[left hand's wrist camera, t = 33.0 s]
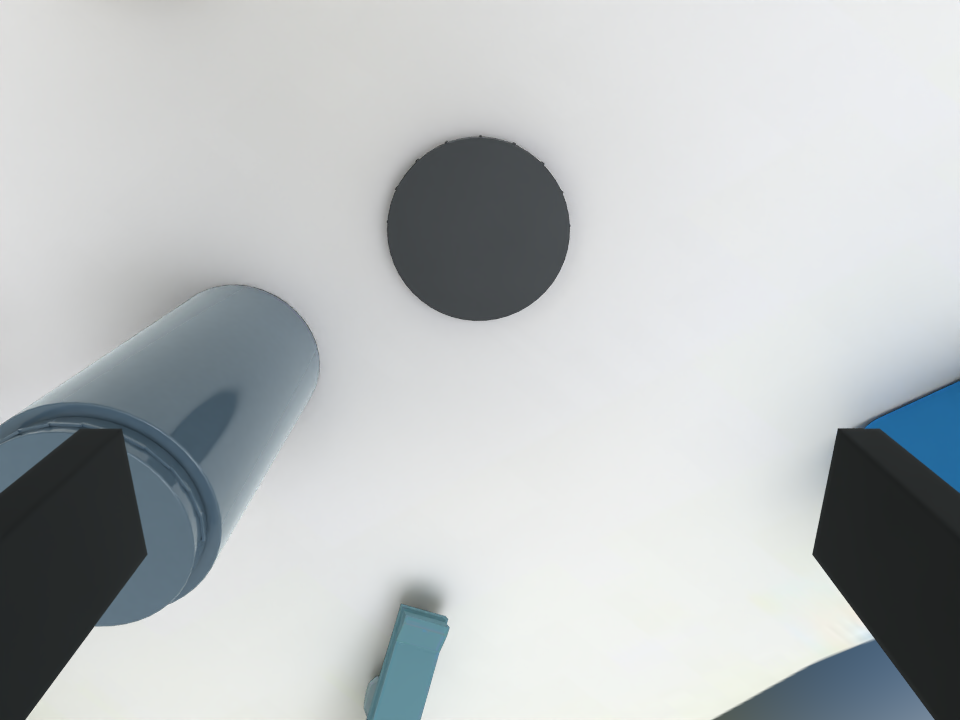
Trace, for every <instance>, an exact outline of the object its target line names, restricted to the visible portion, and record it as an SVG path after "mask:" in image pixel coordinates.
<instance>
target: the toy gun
mask: <svg viewBox="0 0 960 720" xmlns="http://www.w3.org/2000/svg"><path fill="white" fill-rule="evenodd" d="M447 621H448V618H447V617H446V616H443V615H439V614H436V613H432V612H429V611H425V610H422V609H418V608H414V607H411V606H407V605H404V604H401V606H400V609H399V612H398V616H397V619H396V622H395V626H394V629H393V632H392V636H391V639H390V643H389V646H388V649H387V653H386V656H385V659H384V663H383V666H382V669H381V673H380V676H379V677H378V676H376V677H375V678H374V679H373V680H371V681H370V683H369V684H368V687H367V690H366V695H365V701H364V710H365V713H366V716H367V719H366V720H421V716H422V712H423V709H424V705H425V702H426V698H427V695H428V691H429V687H430V684H431V680H432V677H433V673H434V670H435V666H436V662H437V659H438V655H439V652H440V650H441V648H442V646H443V643H444V641H445V639H446V637H447V634H448V631H449V626H448V625H447Z"/></svg>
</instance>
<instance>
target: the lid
mask: <svg viewBox="0 0 960 720" xmlns="http://www.w3.org/2000/svg"><path fill="white" fill-rule="evenodd" d="M395 190H396V192H395V193H394V196H393V199H392V202H391V205H390V210H389V215H388V220H387V223H388V225H387V233H388V243H389V249H390V253H391V256H392V259H393V262H394V265H395V267H396V269H397V271H398V273H399V275H400V276H401V278H402V280H403V281H404V283H405V284H406V285H407V287H408V288H409V289H410V290H411V291H412V292H413V293H414V294H415V295H416V296H417V297H418V298H419V299H420V300H421V301H423V302H424V303H425V304H427V305H428V306H430V307H431V308H433V309H435V310H437V311H439V312H441V313H443V314H446V315H448V316H451V317H455V318H459V319H463V320H472V321H486V320H493V319H499V318H502V317H506V316H509V315H512V314H514V313H516V312H519V311H520V310H522V309H524V308H526V307H528V306H529V305H530V304H532V303H533V302H534V301H536V300H537V299H538V298H539V297H540V296H541V295H542V294H543V293H544V292H546V290H547V289H548V288H549V287H550V285H551V284H552V283H553V282H554V280H555V278H556V277H557V275H558V273H559V272H560V269H561V267H562V265H563V263H564V260H565V257H566V253H567V250H568V244H569V234H570V224H569V214H568V210H567V205H566V202H565V199H564V196H563V191H562V190H561V189H560V188H559V186H558V184H557V182H556V180H555V179H554V177H553V176H552V175H551V173H550V172H549V171H548V170H547V168H546V167H545V166H544V163H543V162H540V161H539V160H538V159H536V158H535V157H534V156H533V155H531V154H530V153H529V152H527V151H526V150H524V149H522V148H521V147H519V146H517V145H516V144H515V143H514V142H513V144H512V143H510V142H507V141H504V140H500V139H496V138H489V137H481V135H480V137H468V138H461V139H457V140H453V141H450V142H448V141H446V142H445V144H443V145H440V146H438V147H436V148H435V149H433V150H432V151H430V152H428V153H427V154H426V155H424V156H423V157H422V158H421V159H420V160H419V159H417V160H416V163H415V164H414V165H413V166H412V167H411V169H410V170H409V171H408V172H407V173H406V175H405V176H404V177H403V179H402V180H401V182H400V184H399V186H397V187H396V189H395Z"/></svg>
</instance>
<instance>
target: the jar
mask: <svg viewBox="0 0 960 720" xmlns="http://www.w3.org/2000/svg"><path fill="white" fill-rule="evenodd" d="M318 375H319V355H318V350H317V346H316V342H315V340H314V338H313V335H312V333H311V331H310V329H309V328H308V326H307V324H306V323H305V322H304V320H303V319H302V318H301V316H300V315H299V314H298V313H297V312H296V311H295V310H294V309H293V308H292V307H290V306H289V305H288V304H287V303H286V302H284V301H282V300H281V299H279V298H278V297H276V296H274V295H272V294H270V293H268V292H266V291H263V290H260V289H257V288H253V287H249V286H241V285H224V286H218V287H214V288H210V289H207V290H205V291H203V292H200V293H198V294H196V295H195V296H193V297H192V298H190V299H189V300H187V301H186V302H184V303H183V304H181V305H180V306H178V307H177V308H175V309H174V310H172V311H171V312H169V313H168V314H166V315H165V316H163V317H162V318H160V319H159V320H157V321H156V322H154V323H153V324H151V325H150V326H148V327H147V328H145V329H144V330H142V331H141V332H139V333H138V334H136V335H135V336H133V337H132V338H130V339H129V340H127V341H126V342H124V343H123V344H121V345H120V346H118V347H117V348H115V349H114V350H112V351H111V352H109V353H108V354H106V355H105V356H103V357H102V358H100V359H99V360H97V361H96V362H94V363H93V364H91V365H90V366H88V367H87V368H85V369H84V370H82V371H81V372H79V373H78V374H76V375H75V376H73V377H72V378H70V379H69V380H67V381H66V382H64V383H63V384H61V385H60V386H58V387H57V388H55V389H54V390H52V391H51V392H49V393H48V394H46V395H45V396H43V397H42V398H40V399H39V400H37V401H36V402H34V403H33V404H31V405H30V406H28V407H27V408H25V409H24V410H22V411H21V412H19V413H18V414H16V415H15V416H13V417H12V418H10V419H9V420H7V421H6V422H4V423H3V424H1V425H0V493H1V492H2V491H3V490H5V489H6V488H7V487H8V486H10V485H11V484H12V483H13V482H15V481H16V480H17V479H18V478H20V477H21V476H22V475H23V474H25V473H26V472H27V471H28V470H29V469H31V468H32V467H33V466H34V465H36V464H37V463H38V462H39V461H41V460H42V459H43V458H44V457H46V456H47V455H48V454H49V453H51V452H52V451H53V450H54V449H55V448H57V447H58V446H59V445H60V444H62V443H63V442H64V441H65V440H67V439H68V438H69V437H70V436H72V435H73V434H74V433H75V432H77V431H78V430H79V429H122V431H123V436H124V441H125V446H126V451H127V456H128V460H129V465H130V470H131V475H132V480H133V485H134V490H135V495H136V500H137V505H138V510H139V515H140V520H141V524H142V529H143V534H144V539H145V544H146V549H147V554H148V555H147V556H146V557H145V559H144V560H143V561H142V563H141V564H140V565H139V567H138V568H137V569H136V571H135V572H134V574H133V575H132V576H131V578H130V579H129V580H128V582H127V583H126V584H125V586H124V587H123V588H122V590H121V591H120V592H119V594H118V595H117V596H116V598H115V599H114V601H113V602H112V603H111V605H110V606H109V607H108V609H107V610H106V611H105V613H104V614H103V615H102V617H101V618H100V619H99V621H98V622H97V623H96V625H95V626H116V625H123V624H128V623H132V622H135V621H139V620H141V619H144V618H146V617H149V616H151V615H153V614H154V613H156V612H158V611H160V610H161V609H163V608H164V607H165V606H167V605H168V604H171V603H173V602H175V601H176V600H178V599H180V598H182V597H184V596H185V595H187V594H188V593H189V592H190V591H192V590H193V589H194V588H196V587H197V585H198V584H199V583H200V582H201V581H202V580H203V579H204V578H205V577H206V575H207V574H208V572H209V571H210V569H211V568H212V566H213V565H214V563H215V561H216V559H217V558H218V556H219V554H220V553H221V551H222V549H223V547H224V546H225V544H226V542H227V540H228V539H229V537H230V535H231V534H232V532H233V530H234V528H235V527H236V525H237V523H238V522H239V520H240V518H241V516H242V515H243V513H244V511H245V509H246V508H247V506H248V504H249V503H250V501H251V499H252V497H253V496H254V494H255V492H256V491H257V489H258V487H259V485H260V484H261V482H262V480H263V479H264V477H265V475H266V473H267V472H268V470H269V468H270V466H271V465H272V463H273V461H274V460H275V458H276V456H277V454H278V453H279V451H280V449H281V448H282V446H283V444H284V442H285V441H286V439H287V437H288V435H289V434H290V432H291V430H292V429H293V427H294V425H295V423H296V422H297V420H298V418H299V417H300V415H301V413H302V411H303V410H304V408H305V406H306V404H307V403H308V401H309V399H310V398H311V396H312V394H313V392H314V390H315V387H316V384H317V381H318Z"/></svg>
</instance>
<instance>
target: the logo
mask: <svg viewBox="0 0 960 720" xmlns="http://www.w3.org/2000/svg"><path fill="white" fill-rule="evenodd" d="M864 429H881V430H882V431H883V432H885V433H886V434H887V435H888V436H890V437H891V438H892V439H893V440H895V441H896V442H897V443H898V444H900V445H901V446H902V447H903V448H905V449H906V450H907V451H908V452H909V453H911V454H912V455H913V456H914V457H916V458H917V459H918V460H919V461H921V462H922V463H923V464H924V465H926V466H927V467H928V468H929V469H931V470H932V471H933V472H934V473H935V474H937V475H938V476H939V477H940V478H942V479H943V480H944V481H945V482H947V483H948V484H949V485H950V486H952V487H953V488H954V489H955V490H957V491H958V492H959V493H960V381H958V382H956V383H954V384H952V385H950V386H947V387H945V388H943V389H941V390H939V391H936V392H934V393H932V394H930V395H928V396H926V397H923V398H921V399H919V400H917V401H915V402H912V403H910V404H908V405H906V406H904V407H902V408H899V409H897V410H895V411H893V412H891V413H888V414H886V415H884V416H882V417H880V418H878V419H876V420H874V421H873V422H871V423H870V424H868V425H867V426H866V427H865V428H864Z"/></svg>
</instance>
